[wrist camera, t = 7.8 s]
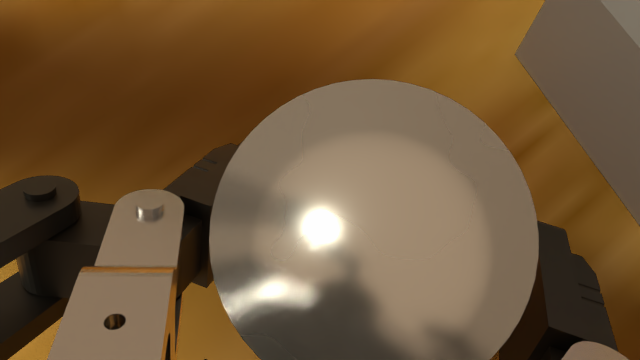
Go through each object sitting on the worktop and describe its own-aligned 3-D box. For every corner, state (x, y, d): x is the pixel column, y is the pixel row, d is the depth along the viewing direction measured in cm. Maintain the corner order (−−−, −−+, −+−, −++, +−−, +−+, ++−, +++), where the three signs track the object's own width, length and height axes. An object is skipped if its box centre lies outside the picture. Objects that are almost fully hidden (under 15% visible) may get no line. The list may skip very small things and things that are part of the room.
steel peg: (294, 254, 17) (164, 163, 6) (392, 204, 17) (428, 30, 6) (345, 361, 16) (291, 472, 5) (449, 306, 16) (610, 301, 5)
